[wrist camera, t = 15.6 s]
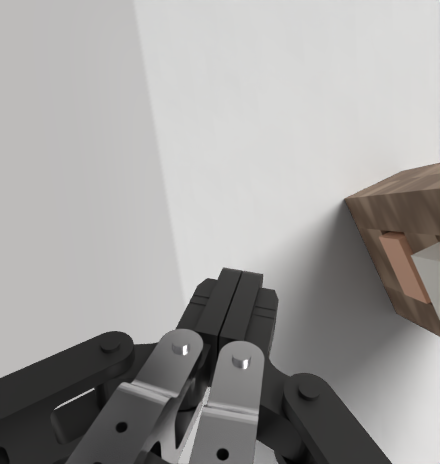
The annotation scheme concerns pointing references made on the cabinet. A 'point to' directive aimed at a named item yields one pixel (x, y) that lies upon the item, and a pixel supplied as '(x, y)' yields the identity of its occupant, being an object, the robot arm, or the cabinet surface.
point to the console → (401, 229)
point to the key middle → (430, 272)
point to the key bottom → (404, 265)
